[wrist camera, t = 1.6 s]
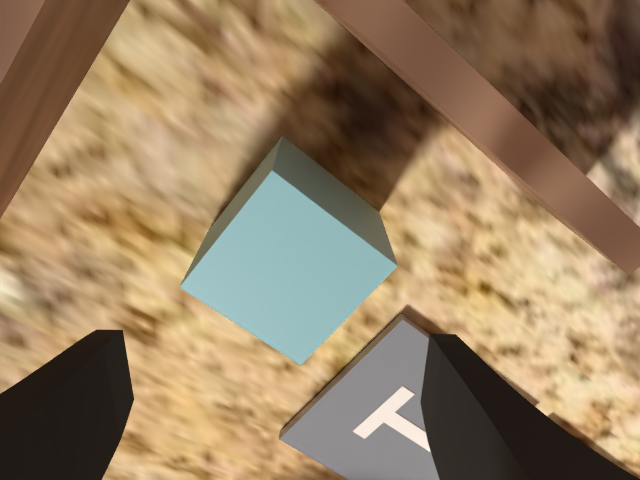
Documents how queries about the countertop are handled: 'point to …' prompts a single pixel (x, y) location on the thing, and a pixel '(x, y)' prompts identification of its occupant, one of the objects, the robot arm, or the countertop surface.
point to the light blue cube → (291, 254)
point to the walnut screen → (365, 25)
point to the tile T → (372, 412)
